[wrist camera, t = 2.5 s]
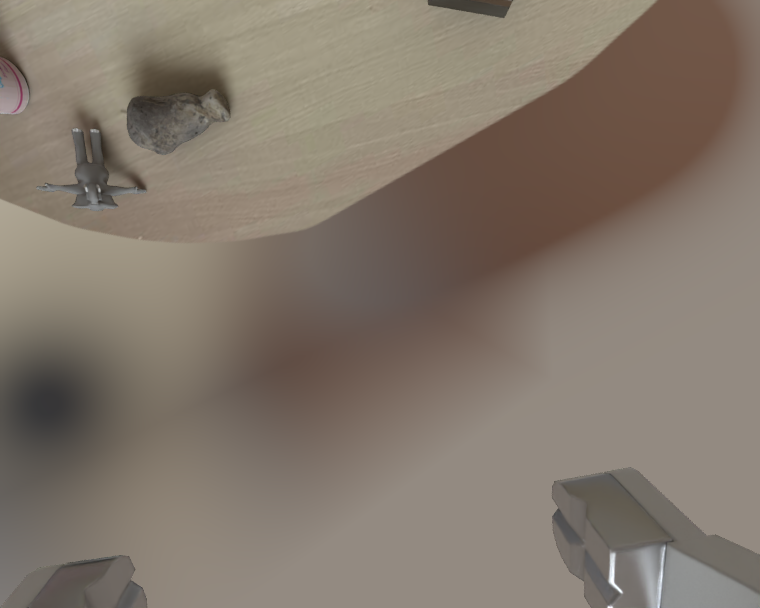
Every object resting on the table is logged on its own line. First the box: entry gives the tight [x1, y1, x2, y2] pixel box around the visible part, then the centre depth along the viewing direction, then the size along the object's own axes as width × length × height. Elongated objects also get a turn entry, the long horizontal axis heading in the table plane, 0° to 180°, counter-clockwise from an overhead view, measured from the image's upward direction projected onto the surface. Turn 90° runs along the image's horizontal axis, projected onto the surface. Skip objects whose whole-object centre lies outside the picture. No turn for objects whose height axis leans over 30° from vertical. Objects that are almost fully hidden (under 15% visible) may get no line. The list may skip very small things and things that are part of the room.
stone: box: [127, 89, 230, 155], centre depth 40 cm, size 10×5×8 cm
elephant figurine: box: [36, 128, 146, 211], centre depth 44 cm, size 10×6×9 cm
